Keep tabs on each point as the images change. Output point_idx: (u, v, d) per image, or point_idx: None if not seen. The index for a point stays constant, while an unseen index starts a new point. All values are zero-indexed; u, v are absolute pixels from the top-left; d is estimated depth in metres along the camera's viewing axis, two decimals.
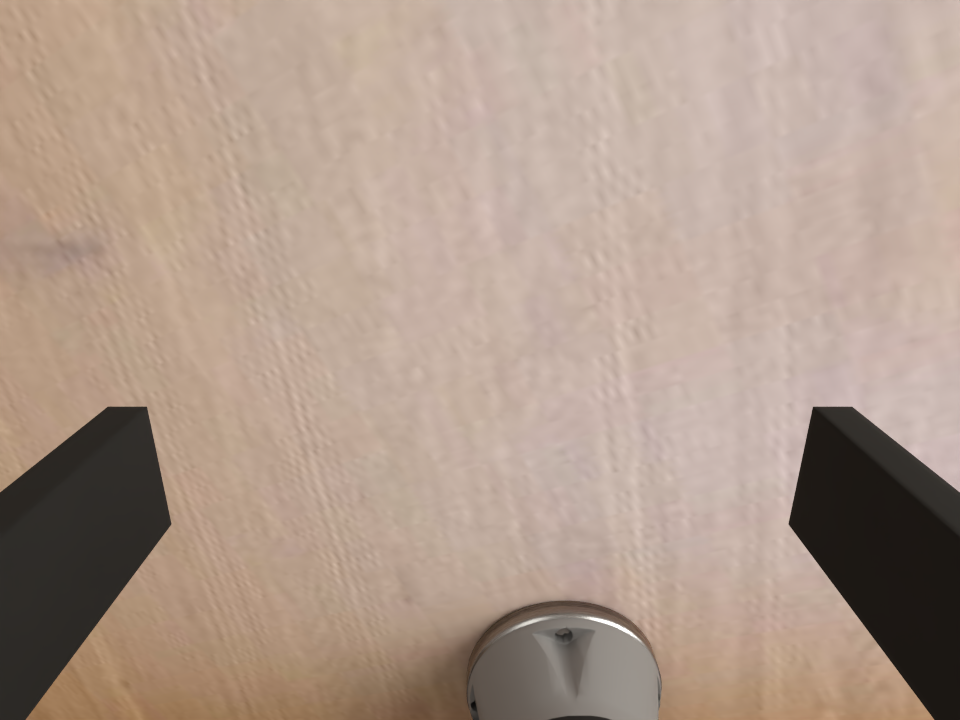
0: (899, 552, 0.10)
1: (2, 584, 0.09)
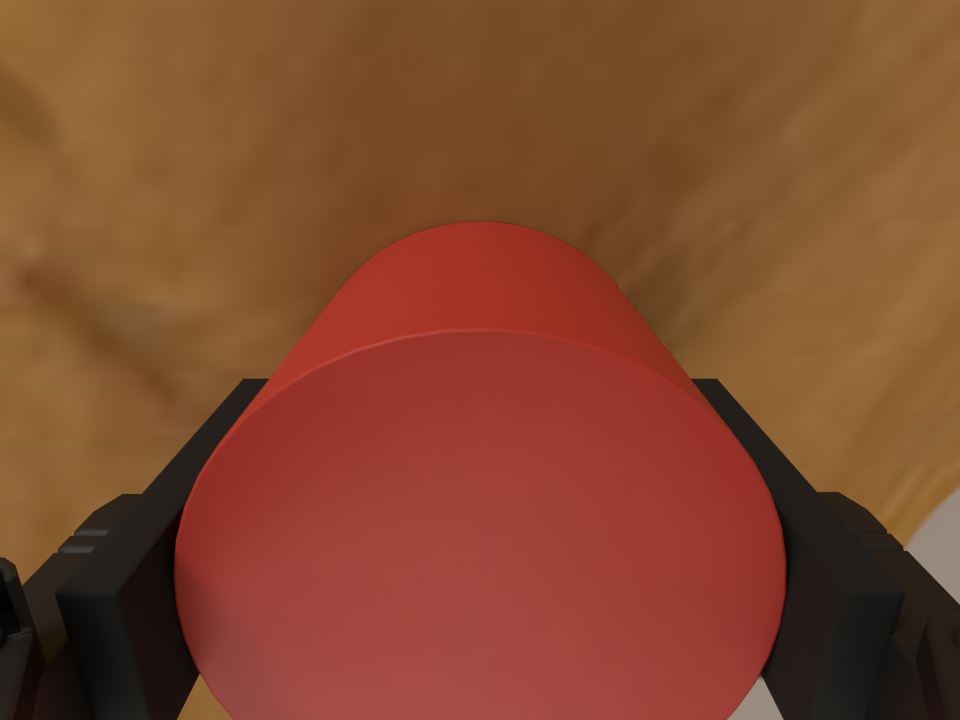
0: None
1: None
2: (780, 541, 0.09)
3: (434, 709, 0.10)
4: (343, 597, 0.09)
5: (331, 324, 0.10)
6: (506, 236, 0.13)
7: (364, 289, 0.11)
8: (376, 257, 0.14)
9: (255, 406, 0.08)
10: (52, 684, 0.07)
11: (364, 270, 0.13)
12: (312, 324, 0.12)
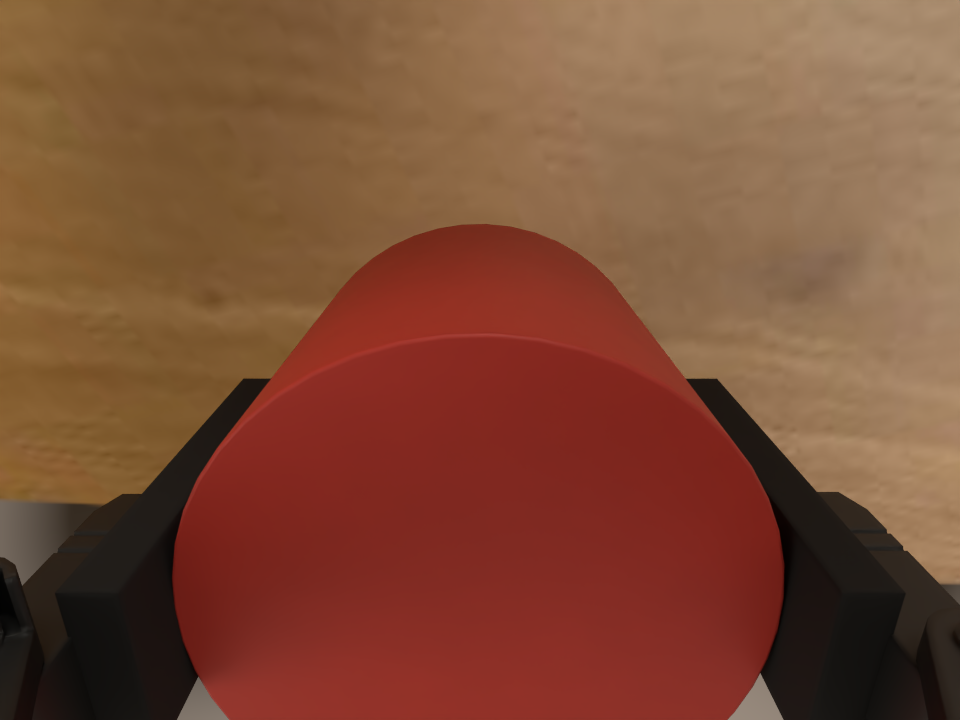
0: None
1: None
2: (778, 545, 0.09)
3: (432, 712, 0.10)
4: (342, 601, 0.09)
5: (330, 328, 0.10)
6: (505, 239, 0.13)
7: (363, 292, 0.11)
8: (375, 260, 0.14)
9: (253, 411, 0.08)
10: (52, 684, 0.07)
11: (363, 273, 0.13)
12: (311, 327, 0.13)
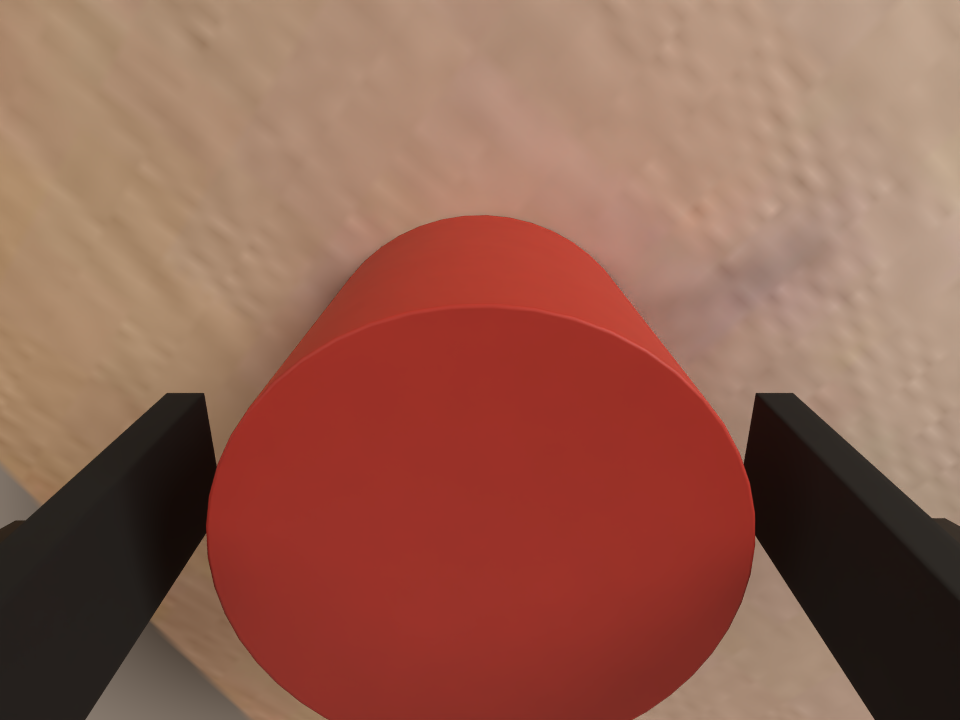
0: (823, 526, 0.10)
1: (92, 553, 0.09)
2: (749, 496, 0.10)
3: (439, 653, 0.11)
4: (359, 548, 0.10)
5: (346, 305, 0.11)
6: (504, 228, 0.14)
7: (374, 275, 0.12)
8: (383, 248, 0.15)
9: (282, 374, 0.09)
10: None
11: (373, 260, 0.14)
12: (325, 309, 0.14)
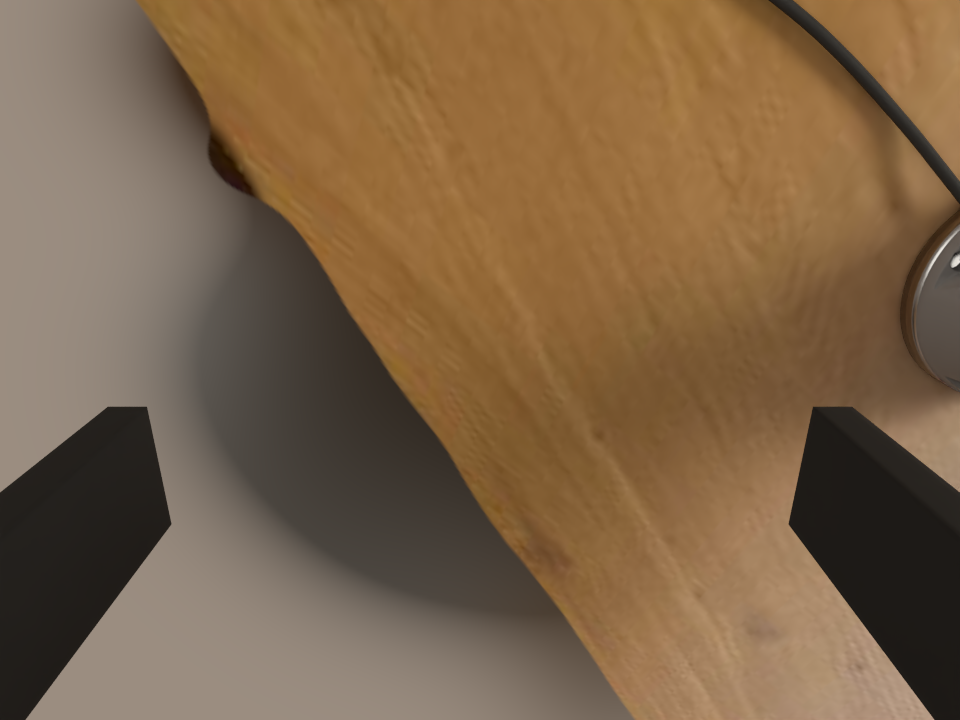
0: (899, 552, 0.10)
1: (2, 584, 0.09)
2: None
3: None
4: None
5: None
6: None
7: None
8: None
9: None
10: None
11: None
12: None
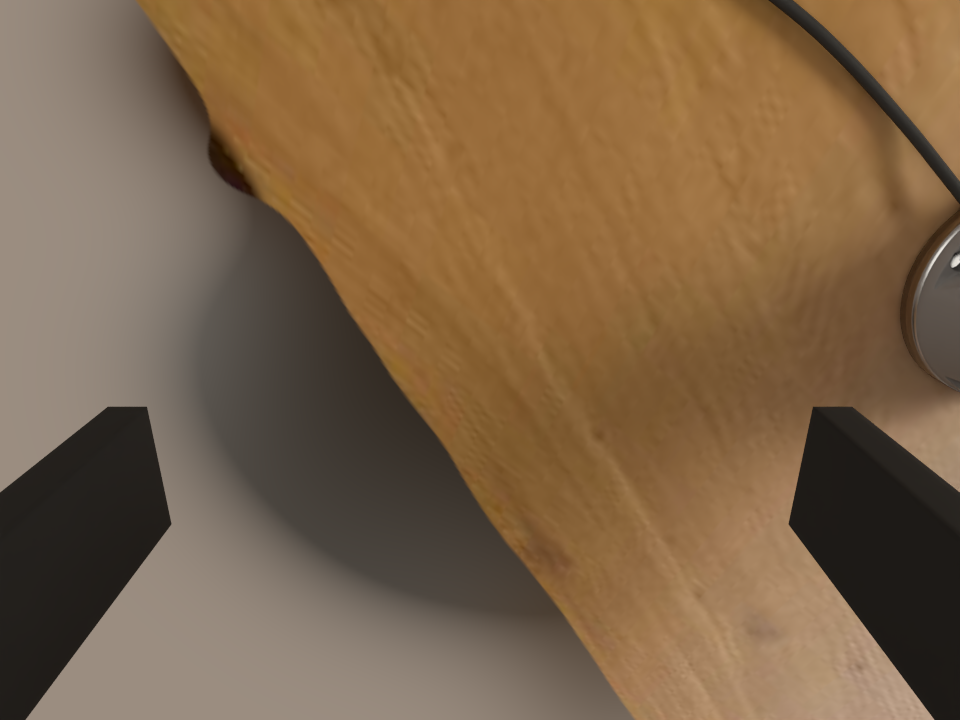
0: (899, 552, 0.10)
1: (2, 584, 0.09)
2: None
3: None
4: None
5: None
6: None
7: None
8: None
9: None
10: None
11: None
12: None
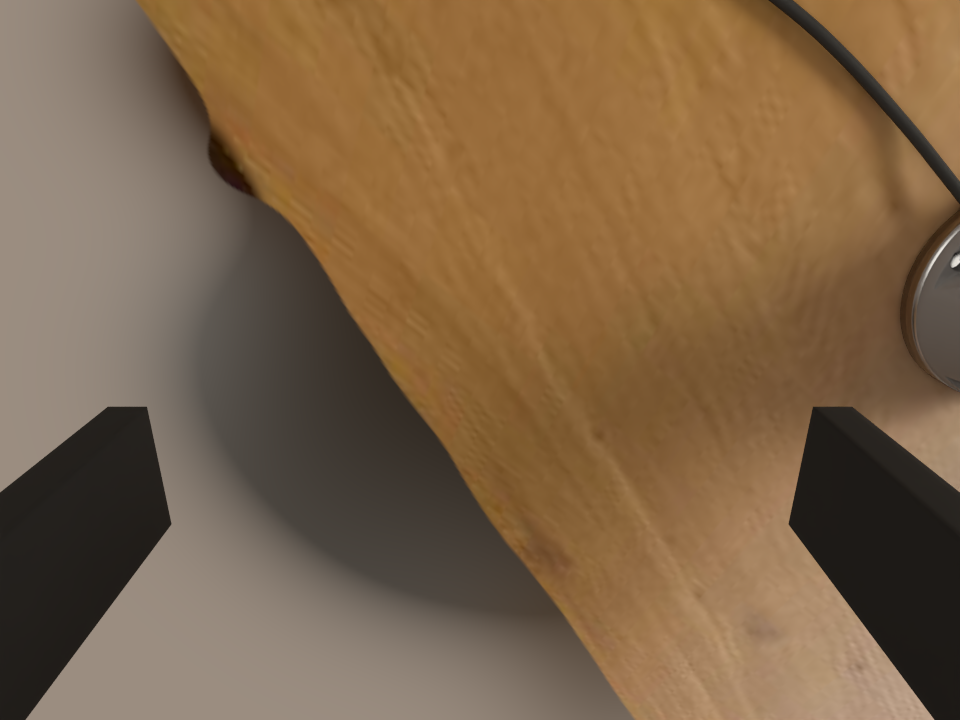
0: (899, 552, 0.10)
1: (2, 584, 0.09)
2: None
3: None
4: None
5: None
6: None
7: None
8: None
9: None
10: None
11: None
12: None
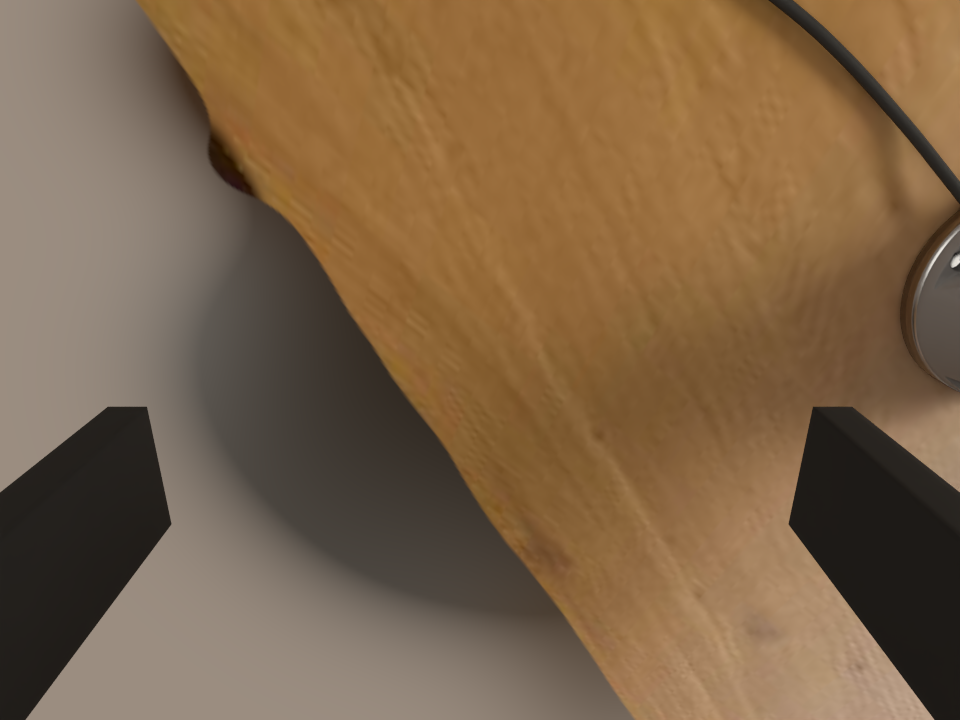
0: (899, 552, 0.10)
1: (2, 584, 0.09)
2: None
3: None
4: None
5: None
6: None
7: None
8: None
9: None
10: None
11: None
12: None
